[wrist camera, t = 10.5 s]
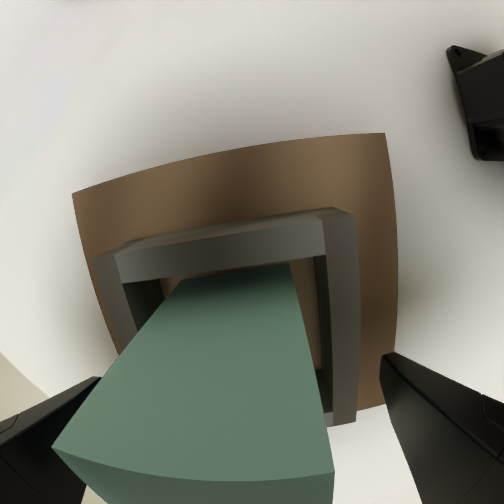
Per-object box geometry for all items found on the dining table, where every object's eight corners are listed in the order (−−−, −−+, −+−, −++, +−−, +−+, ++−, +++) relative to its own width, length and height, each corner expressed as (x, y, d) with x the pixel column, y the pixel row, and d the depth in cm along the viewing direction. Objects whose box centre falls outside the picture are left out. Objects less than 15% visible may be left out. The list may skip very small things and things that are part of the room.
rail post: (288, 262, 11) (334, 471, 2) (301, 355, 12) (327, 543, 3) (181, 279, 12) (51, 446, 3) (207, 366, 13) (153, 537, 4)
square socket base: (376, 136, 11) (420, 119, 7) (381, 392, 14) (402, 439, 10) (83, 192, 12) (28, 199, 8) (157, 414, 15) (138, 458, 11)
